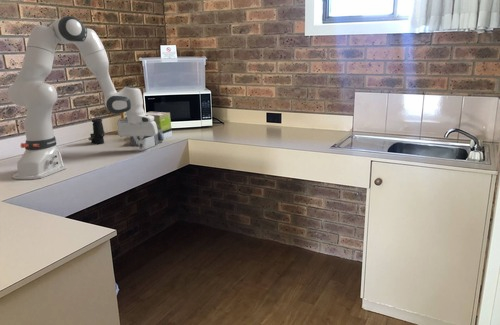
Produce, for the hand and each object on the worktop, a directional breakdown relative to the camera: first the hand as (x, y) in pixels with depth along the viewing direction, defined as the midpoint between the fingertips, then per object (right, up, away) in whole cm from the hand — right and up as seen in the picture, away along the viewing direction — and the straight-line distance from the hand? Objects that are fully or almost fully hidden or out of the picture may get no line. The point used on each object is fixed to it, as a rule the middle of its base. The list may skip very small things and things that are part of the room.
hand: (139, 144), depth 212 cm
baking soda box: (-18, +9, +46) cm, 50 cm away
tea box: (+3, +5, +28) cm, 28 cm away
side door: (+4, -2, +3) cm, 5 cm away
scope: (-28, +1, +20) cm, 35 cm away
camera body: (0, +1, +15) cm, 15 cm away
